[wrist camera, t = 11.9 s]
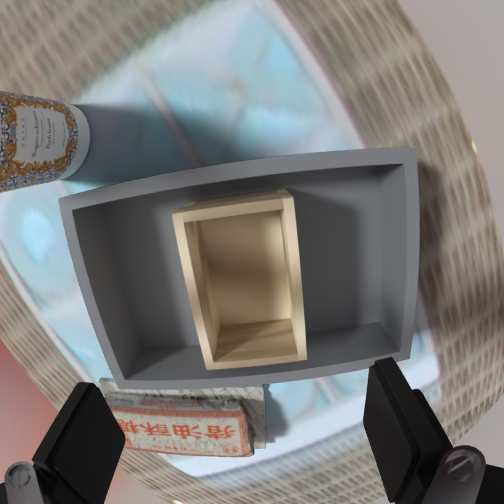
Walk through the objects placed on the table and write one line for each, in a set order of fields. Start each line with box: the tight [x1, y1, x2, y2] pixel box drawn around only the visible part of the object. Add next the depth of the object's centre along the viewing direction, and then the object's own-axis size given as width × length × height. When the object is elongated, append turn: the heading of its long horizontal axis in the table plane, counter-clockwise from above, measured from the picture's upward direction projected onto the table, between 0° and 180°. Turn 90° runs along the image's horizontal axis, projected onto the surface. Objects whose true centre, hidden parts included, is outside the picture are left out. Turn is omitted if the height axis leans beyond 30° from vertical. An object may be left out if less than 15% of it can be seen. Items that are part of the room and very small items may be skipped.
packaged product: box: [99, 378, 266, 457], centre depth 30 cm, size 18×5×10 cm
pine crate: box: [172, 188, 307, 370], centre depth 22 cm, size 11×7×6 cm, turn 8°
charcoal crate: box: [58, 148, 420, 390], centre depth 23 cm, size 16×24×6 cm, turn 98°
